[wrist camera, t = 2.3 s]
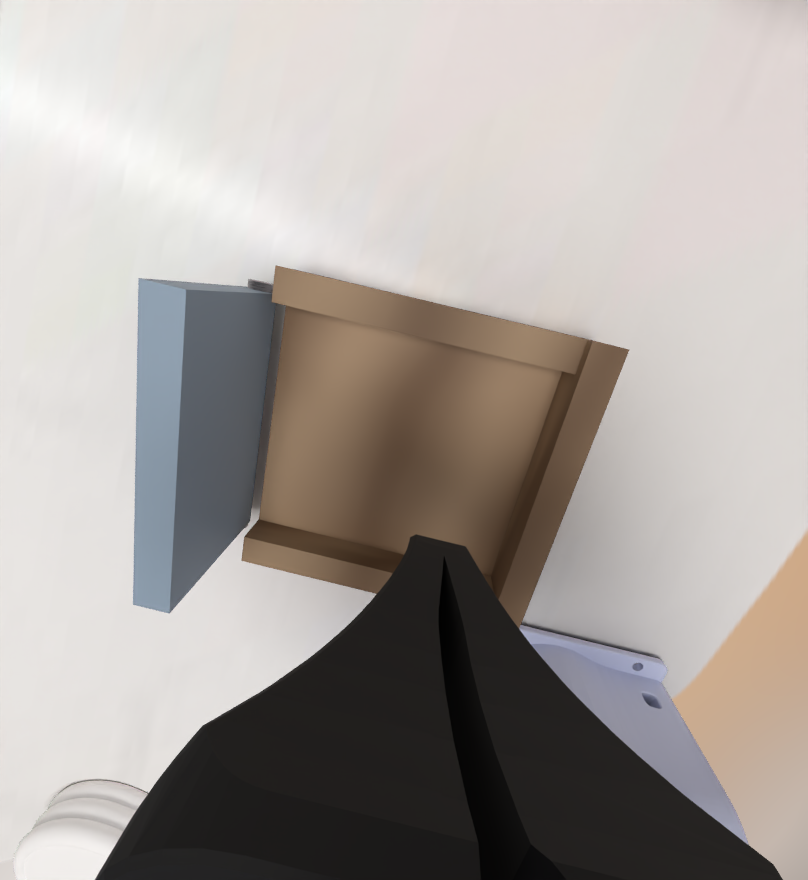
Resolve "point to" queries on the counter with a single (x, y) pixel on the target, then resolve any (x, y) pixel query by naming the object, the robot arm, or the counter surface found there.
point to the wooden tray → (421, 436)
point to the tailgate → (195, 427)
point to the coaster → (77, 832)
